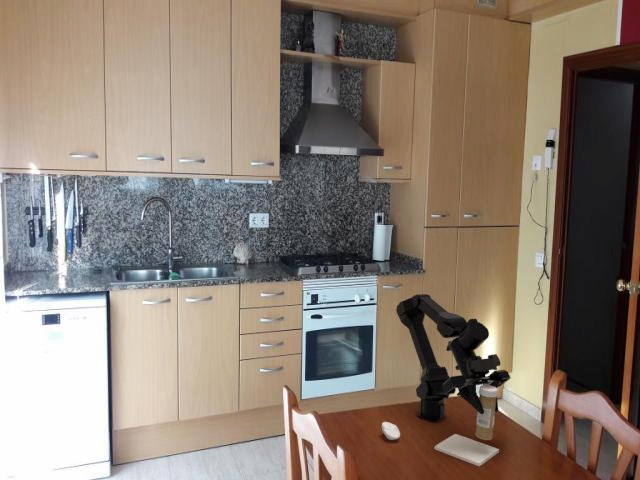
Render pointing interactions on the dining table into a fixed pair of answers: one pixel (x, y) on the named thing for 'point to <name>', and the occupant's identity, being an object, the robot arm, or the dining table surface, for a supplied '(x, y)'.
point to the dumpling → (390, 430)
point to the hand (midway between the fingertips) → (489, 412)
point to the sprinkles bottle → (486, 412)
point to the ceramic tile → (467, 449)
